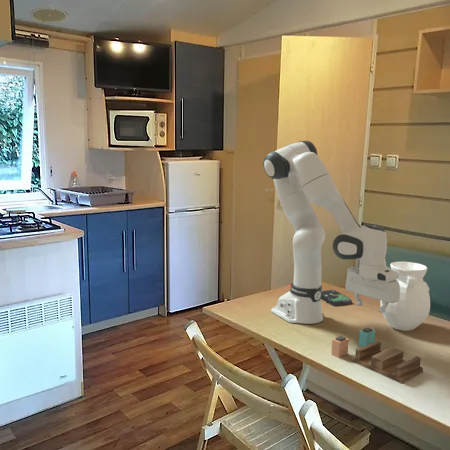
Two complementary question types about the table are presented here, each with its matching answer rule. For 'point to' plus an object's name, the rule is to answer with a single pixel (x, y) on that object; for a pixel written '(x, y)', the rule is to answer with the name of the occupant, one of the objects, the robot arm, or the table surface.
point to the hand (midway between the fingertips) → (370, 308)
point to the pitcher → (409, 297)
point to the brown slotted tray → (388, 362)
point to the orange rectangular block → (340, 346)
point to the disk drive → (335, 298)
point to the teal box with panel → (366, 337)
